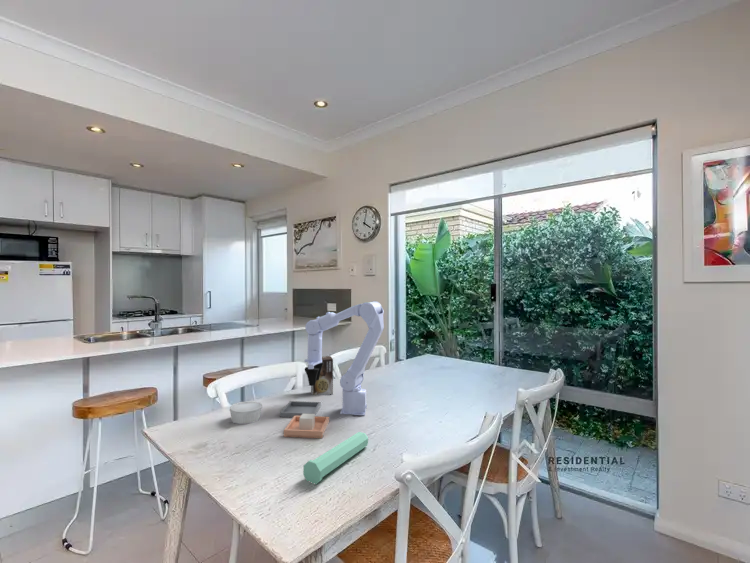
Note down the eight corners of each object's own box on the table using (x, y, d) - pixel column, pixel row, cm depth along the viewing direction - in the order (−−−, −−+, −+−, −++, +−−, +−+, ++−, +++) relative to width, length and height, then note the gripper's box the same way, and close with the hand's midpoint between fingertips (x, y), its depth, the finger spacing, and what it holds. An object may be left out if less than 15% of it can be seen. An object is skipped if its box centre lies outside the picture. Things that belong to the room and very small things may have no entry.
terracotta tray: (329, 422, 130) (329, 416, 130) (322, 438, 117) (322, 431, 117) (294, 421, 131) (294, 415, 131) (283, 436, 118) (283, 430, 118)
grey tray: (320, 407, 145) (321, 402, 145) (314, 419, 133) (314, 413, 133) (289, 406, 146) (290, 400, 146) (280, 418, 133) (280, 412, 133)
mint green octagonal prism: (359, 424, 114) (307, 456, 93) (374, 435, 112) (323, 471, 90) (353, 440, 115) (299, 475, 94) (368, 451, 113) (316, 490, 91)
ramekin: (253, 412, 139) (253, 398, 139) (267, 420, 131) (268, 406, 131) (224, 420, 131) (224, 405, 131) (237, 429, 123) (237, 414, 123)
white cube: (315, 425, 126) (315, 413, 126) (312, 430, 122) (312, 418, 122) (302, 424, 126) (302, 413, 126) (299, 430, 122) (299, 418, 122)
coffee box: (330, 390, 168) (330, 355, 168) (333, 394, 162) (333, 358, 161) (310, 392, 165) (310, 356, 165) (312, 396, 159) (313, 359, 159)
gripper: (309, 345, 154) (308, 377, 154) (300, 352, 140) (300, 387, 140) (325, 346, 154) (324, 378, 154) (318, 353, 139) (318, 388, 140)
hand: (314, 382), depth 147 cm, fingers open, 7 cm apart
